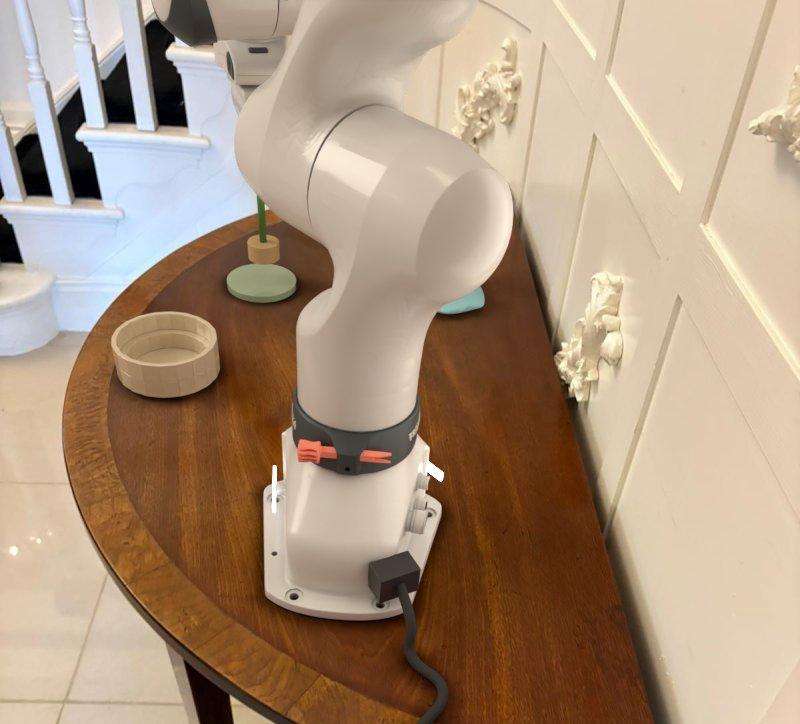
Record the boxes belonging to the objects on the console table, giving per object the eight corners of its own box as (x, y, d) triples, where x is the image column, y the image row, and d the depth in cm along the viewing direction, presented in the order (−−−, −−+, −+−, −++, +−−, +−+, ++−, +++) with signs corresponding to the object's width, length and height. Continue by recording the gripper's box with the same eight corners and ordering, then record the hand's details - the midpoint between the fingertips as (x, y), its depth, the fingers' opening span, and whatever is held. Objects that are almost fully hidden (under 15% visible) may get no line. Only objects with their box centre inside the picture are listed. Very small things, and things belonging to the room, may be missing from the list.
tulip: (276, 266, 110) (271, 155, 100) (245, 263, 111) (236, 151, 100) (282, 251, 114) (277, 142, 103) (252, 249, 114) (244, 139, 103)
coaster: (290, 306, 111) (290, 299, 111) (220, 299, 111) (219, 292, 111) (301, 272, 118) (301, 266, 118) (235, 266, 118) (234, 260, 118)
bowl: (207, 406, 94) (203, 370, 90) (105, 396, 93) (96, 360, 90) (229, 351, 102) (226, 316, 99) (135, 342, 102) (129, 307, 99)
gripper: (214, 23, 99) (224, 138, 109) (236, 73, 86) (245, 200, 96) (264, 23, 101) (269, 137, 111) (293, 72, 87) (296, 197, 97)
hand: (258, 167), depth 103 cm, fingers closed on tulip, 3 cm apart
